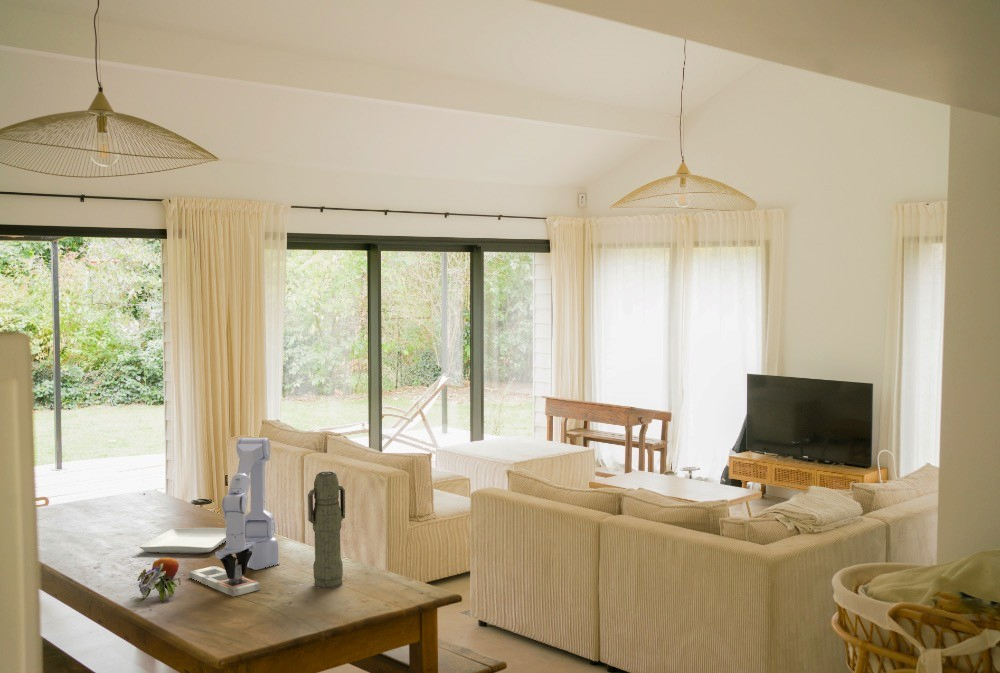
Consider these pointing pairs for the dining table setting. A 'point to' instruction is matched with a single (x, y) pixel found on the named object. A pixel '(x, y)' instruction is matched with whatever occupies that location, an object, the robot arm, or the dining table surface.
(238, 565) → the metal peg
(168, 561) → the fruit
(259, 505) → the robot arm
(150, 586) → the passion flower
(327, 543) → the thermos
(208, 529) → the square plate
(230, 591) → the hole rail
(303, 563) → the dining table surface
